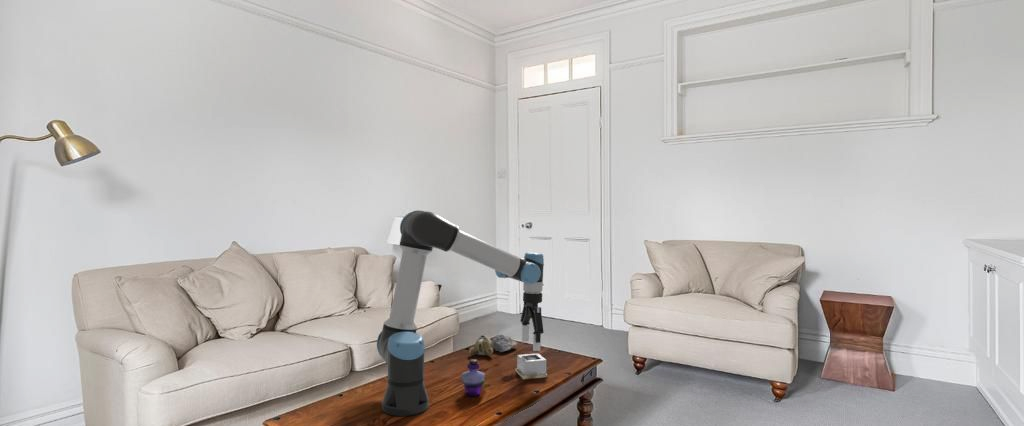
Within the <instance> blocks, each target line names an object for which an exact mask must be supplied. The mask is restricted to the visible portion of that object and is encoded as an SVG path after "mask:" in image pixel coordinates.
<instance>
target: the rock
mask: <svg viewBox="0 0 1024 426" xmlns="http://www.w3.org/2000/svg"><path fill="white" fill-rule="evenodd" d="M491 342H492V348H493V350H495V351H496V352H499V353H504V352H506V351H510V350H511V349H512V348H514V347H515V346H517V345H518V342H517V341H515V340H514V339H512V338H511V337H510V336H508V335H507V336H506V335H503V334H496V335H495V337H493V338H492V339H491Z"/></svg>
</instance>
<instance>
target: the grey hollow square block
mask: <svg viewBox="0 0 1024 426" xmlns="http://www.w3.org/2000/svg"><path fill="white" fill-rule="evenodd" d="M529 357H533V358H536V359H537V360H526V359H527V358H529ZM516 359H517V360H516V361H517V362H516V368H517V369H518V370H519V371H520V372H521V373H522V374H523V375H524V376H530V375H541V374H547V359H546V358H545V357H544V356H542V355H541V354H540V353H529V354H528V353H527V354H525V353H524V354H517V356H516Z"/></svg>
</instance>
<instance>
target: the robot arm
mask: <svg viewBox="0 0 1024 426" xmlns="http://www.w3.org/2000/svg"><path fill="white" fill-rule="evenodd" d="M399 231H400V234H401V236H400V240H399V247H400V249H401V251H402V253H401V258H400V263H399V268H398V273H397V278H396V282H395V288H394V294H393V298H392V302H391V303H392V304H391V308H390V313H389V317H388V318H387V319H386V320H385V321H384V322H383V325H382V330H381V331H380V332H379V334H378V336H377V339H376V347H377V348H376V349H377V353H378V354H379V356H380V357H381V358H382V359H383V360H384V361H385V362H386V364H387V385H386V387H385V390H384V391H385V392H384V394H383V397H382V400H381V410H382V412H383V413H385V414H387V415H390V416H391V415H392V416H395V417H405V416H406V417H407V416H415V415H418V414H421V413H424V412H426V411H427V410H428V408H429V405H430V398H429V395H428V392H427V388H426V386H425V381H424V380H425V350H426V345H425V339H424V337H423V336H422V335H421V334H420V333H418V332H417V329H418V327H417V325H416V323H415V317H416V312H417V308H418V307H417V306H418V301H419V296H420V292H421V287H422V281H423V277H424V271H425V265H426V262H427V256H428V255H430V254H431V253H432V252H433V248H435V249H438V250H441V251H443V252H446V253H447V252H450V251H451V252H453V253H455V254H458V255H460V256H462V257H464V258H466V259H469V260H471V261H474V262H475V263H479V264H480V265H483V266H485V267H488V268H490V269H492V270H494V272H495V275H496V276H497V278H499V279H512V280H515V281H518V282H521V283H522V284H523V287H522V289H523V294H522V301H523V306H522V311H521V312H522V313H521V316H520V321H519V322H520V323H521V327H522V328H521V342H523V343H524V342H525V343H526V342H529V341H530V339H529V338H530V335H529V334H530V325H531V323H530V321H531V322H532V325H533V326H532V327H533V332H532V334H533V341H532V342H533V343H532V351H533V352H536V351H537V352H538V351H539V352H540V351H541V341H542V340H541V339H542V334H544V331H545V330H544V326H543V325H544V324H543V318H542V317H543V316H542V307H540V306H539V304H542V302H543V293H542V292H543V286H544V281H543V280H544V266H545V264H544V263H545V262H544V261H545V260H544V259H545V258H544V254H543V253H542V252H541V253H540V252H529V251H528V252H525V253H524V257H519V256H516V255H515V254H512V253H510V252H508V251H506V250H504V249H501V248H499V247H497V246H494V245H493V244H491V243H488V242H486V241H484V240H481V239H479V238H477V237H475V236H473V235H471V234H469V233H466V232H464V231H462V230H460V228H459V225H457V224H454V223H452V222H450V221H449V220H447V219H445V218H443V217H442V216H440V215H438V214H437V213H435V212H432V211H425V210H417V209H416V210H413V211H410V212H408V213H407V214H406V215H405V216H403V218H402V219H401V221H400V224H399Z"/></svg>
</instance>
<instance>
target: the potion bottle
mask: <svg viewBox="0 0 1024 426" xmlns="http://www.w3.org/2000/svg"><path fill="white" fill-rule="evenodd" d="M467 369H468V370H467V371H464V372H462V373H461V380H462V385H463V386H464V391H465V396H467V397H470V398H475V397H479V396H481V392H482V391H481V390H482V387H484V386H485V376H486V375H485V372H482V371H479V370H478V369H480V363H479V360H478V359H476V358H473V359H468V362H467Z"/></svg>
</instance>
